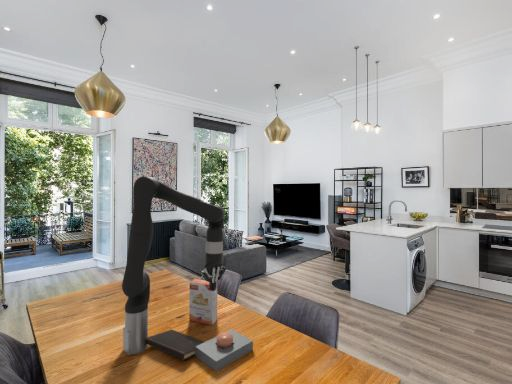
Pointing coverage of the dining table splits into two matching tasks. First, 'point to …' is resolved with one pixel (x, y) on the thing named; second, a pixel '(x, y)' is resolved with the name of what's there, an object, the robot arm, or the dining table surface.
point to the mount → (223, 351)
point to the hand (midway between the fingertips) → (212, 290)
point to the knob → (224, 340)
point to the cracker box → (202, 302)
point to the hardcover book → (175, 343)
